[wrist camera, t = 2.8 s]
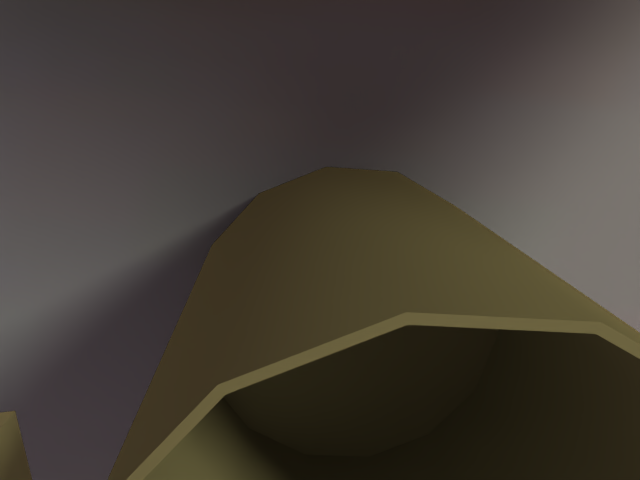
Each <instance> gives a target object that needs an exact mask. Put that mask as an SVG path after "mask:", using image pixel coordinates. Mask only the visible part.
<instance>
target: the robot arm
mask: <svg viewBox="0 0 640 480" xmlns="http://www.w3.org/2000/svg"><path fill="white" fill-rule="evenodd" d="M0 480H32V477H31V473H30V469H29V465H28V461H27V457H26V453H25V449H24V445H23V441H22V437H21V433H20V429H19V425H18V421H17V417H16V413H15V411H9V412H1V413H0Z"/></svg>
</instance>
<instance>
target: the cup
mask: <svg viewBox="0 0 640 480" xmlns="http://www.w3.org/2000/svg"><path fill="white" fill-rule="evenodd" d="M108 480H640V333H639V332H638V331H637V330H635V329H634V328H632V327H631V326H629V325H628V324H626V323H625V322H623V321H622V320H621V319H619V318H618V317H616V316H615V315H613V314H612V313H610V312H609V311H607V310H606V309H605V308H603V307H602V306H600V305H599V304H597V303H596V302H594V301H593V300H591V299H590V298H589V297H587V296H586V295H584V294H583V293H581V292H580V291H578V290H577V289H575V288H574V287H573V286H571V285H570V284H568V283H567V282H565V281H564V280H562V279H561V278H559V277H558V276H556V275H555V274H554V273H552V272H551V271H549V270H548V269H546V268H545V267H543V266H542V265H540V264H539V263H538V262H536V261H535V260H533V259H532V258H530V257H529V256H527V255H526V254H524V253H523V252H522V251H520V250H519V249H517V248H516V247H514V246H513V245H511V244H510V243H508V242H507V241H506V240H504V239H503V238H501V237H500V236H498V235H497V234H495V233H494V232H492V231H491V230H490V229H488V228H487V227H485V226H484V225H482V224H481V223H479V222H478V221H476V220H475V219H474V218H472V217H471V216H469V215H468V214H466V213H465V212H463V211H462V210H460V209H459V208H457V207H456V206H454V205H453V204H451V203H449V202H448V201H446V200H444V199H442V198H441V197H439V196H437V195H436V194H434V193H432V192H431V191H429V190H427V189H426V188H424V187H422V186H420V185H419V184H417V183H415V182H414V181H412V180H410V179H409V178H407V177H405V176H403V175H402V174H400V173H398V172H393V171H379V170H364V169H350V168H336V167H324V168H322V169H319V170H317V171H314V172H312V173H309V174H307V175H304V176H302V177H299V178H297V179H294V180H292V181H289V182H287V183H284V184H282V185H279V186H276V187H274V188H271V189H269V190H266V191H264V192H261V193H259V194H258V195H257V196H256V197H255V198H254V200H253V201H252V202H251V203H250V204H249V205H248V206H247V207H246V208H245V209H244V210H243V212H242V213H241V214H240V215H239V216H238V217H237V218H236V219H235V220H234V221H233V223H232V224H231V225H230V226H229V227H228V228H227V229H226V230H225V231H224V232H223V233H222V235H221V236H220V237H219V238H218V239H217V240H216V241H215V242H214V243H213V244H212V246H211V248H210V251H209V253H208V255H207V257H206V260H205V262H204V264H203V266H202V269H201V271H200V273H199V275H198V278H197V280H196V282H195V284H194V287H193V289H192V291H191V293H190V296H189V298H188V300H187V302H186V305H185V307H184V309H183V311H182V314H181V316H180V318H179V320H178V323H177V325H176V327H175V329H174V332H173V334H172V336H171V338H170V341H169V343H168V345H167V347H166V350H165V352H164V354H163V356H162V359H161V361H160V363H159V365H158V367H157V370H156V372H155V374H154V376H153V379H152V381H151V383H150V385H149V388H148V390H147V392H146V394H145V397H144V399H143V401H142V403H141V406H140V408H139V410H138V412H137V415H136V417H135V419H134V421H133V424H132V426H131V428H130V430H129V433H128V435H127V437H126V439H125V442H124V444H123V446H122V448H121V451H120V453H119V455H118V457H117V460H116V462H115V464H114V466H113V469H112V471H111V473H110V475H109V478H108Z"/></svg>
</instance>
